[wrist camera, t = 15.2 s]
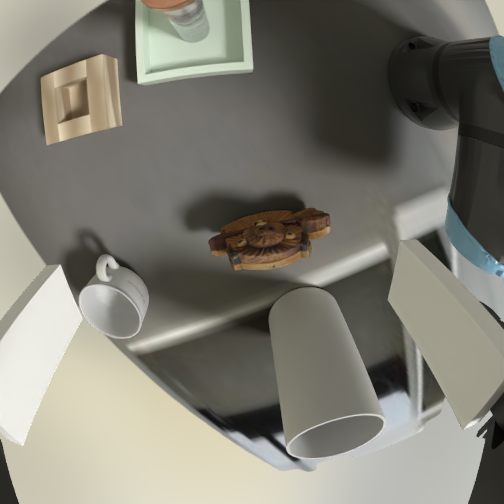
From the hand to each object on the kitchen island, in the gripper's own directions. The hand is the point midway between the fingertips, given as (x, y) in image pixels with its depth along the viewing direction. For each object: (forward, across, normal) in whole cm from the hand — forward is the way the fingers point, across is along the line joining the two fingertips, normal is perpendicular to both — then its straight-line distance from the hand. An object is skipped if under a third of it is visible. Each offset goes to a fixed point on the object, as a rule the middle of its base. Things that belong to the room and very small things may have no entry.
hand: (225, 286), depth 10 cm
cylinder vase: (+31, -10, +28) cm, 43 cm away
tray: (+31, +4, -18) cm, 36 cm away
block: (+31, +20, -11) cm, 38 cm away
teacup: (+31, +20, +18) cm, 41 cm away
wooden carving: (+31, -4, +10) cm, 33 cm away
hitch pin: (+30, +4, -18) cm, 35 cm away
